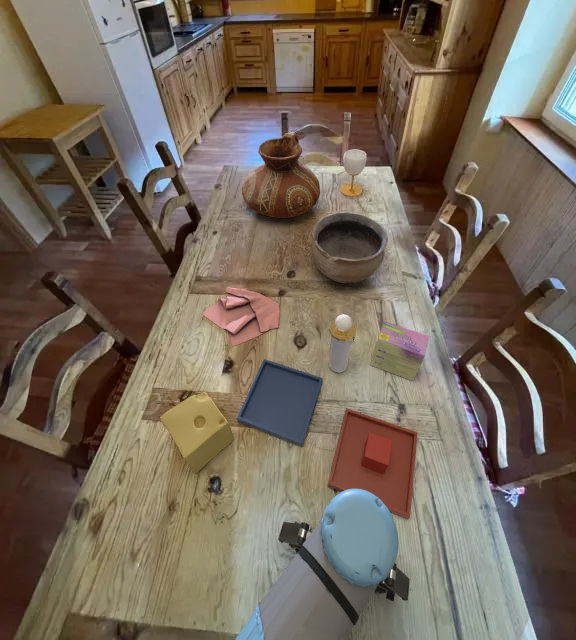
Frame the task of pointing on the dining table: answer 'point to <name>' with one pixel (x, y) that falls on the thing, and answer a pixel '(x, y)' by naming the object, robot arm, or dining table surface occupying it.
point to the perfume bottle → (341, 342)
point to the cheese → (198, 430)
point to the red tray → (387, 486)
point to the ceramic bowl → (348, 246)
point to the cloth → (244, 314)
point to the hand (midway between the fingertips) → (338, 563)
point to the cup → (353, 170)
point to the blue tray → (281, 402)
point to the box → (399, 350)
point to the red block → (376, 453)
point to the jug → (281, 180)
